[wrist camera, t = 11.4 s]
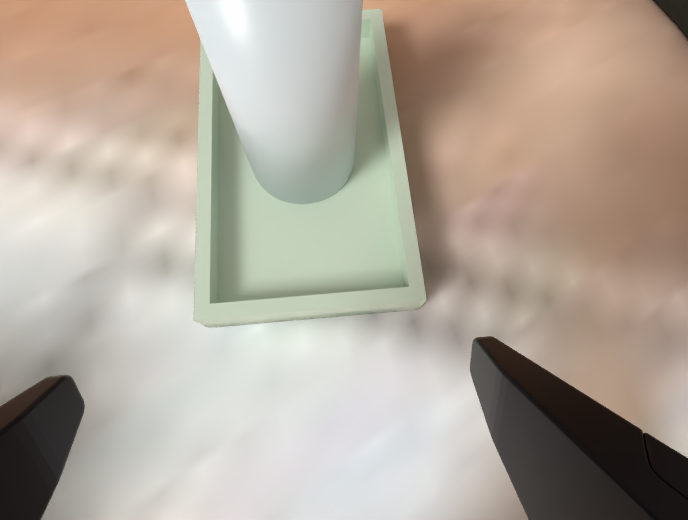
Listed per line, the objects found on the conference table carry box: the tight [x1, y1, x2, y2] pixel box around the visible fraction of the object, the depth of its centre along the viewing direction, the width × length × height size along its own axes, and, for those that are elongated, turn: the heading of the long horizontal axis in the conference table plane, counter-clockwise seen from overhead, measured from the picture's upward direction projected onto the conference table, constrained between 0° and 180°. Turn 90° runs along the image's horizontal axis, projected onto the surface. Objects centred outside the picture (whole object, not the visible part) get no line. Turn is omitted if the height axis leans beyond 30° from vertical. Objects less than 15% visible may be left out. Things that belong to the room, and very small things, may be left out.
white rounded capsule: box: [185, 0, 363, 204], centre depth 19 cm, size 6×6×13 cm
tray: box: [194, 9, 427, 328], centre depth 25 cm, size 20×12×2 cm, turn 5°
